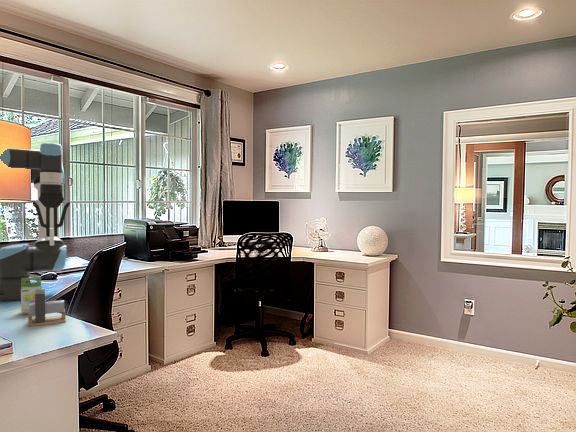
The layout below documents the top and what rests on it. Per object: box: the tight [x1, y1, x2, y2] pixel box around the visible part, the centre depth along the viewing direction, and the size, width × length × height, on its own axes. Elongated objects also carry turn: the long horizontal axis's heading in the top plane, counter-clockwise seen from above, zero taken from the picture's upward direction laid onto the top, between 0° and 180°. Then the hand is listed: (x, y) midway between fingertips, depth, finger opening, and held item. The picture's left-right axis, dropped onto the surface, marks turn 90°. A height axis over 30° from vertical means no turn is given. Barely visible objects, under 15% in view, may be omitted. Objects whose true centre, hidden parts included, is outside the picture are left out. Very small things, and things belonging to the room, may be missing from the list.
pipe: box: [28, 299, 66, 316], centre depth 157 cm, size 4×11×4 cm, turn 120°
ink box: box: [20, 276, 42, 315], centre depth 168 cm, size 7×4×13 cm, turn 120°
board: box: [27, 308, 67, 327], centre depth 157 cm, size 8×12×3 cm
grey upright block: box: [34, 289, 46, 323], centre depth 155 cm, size 8×3×10 cm, turn 30°
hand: (51, 245), depth 167 cm, fingers closed
